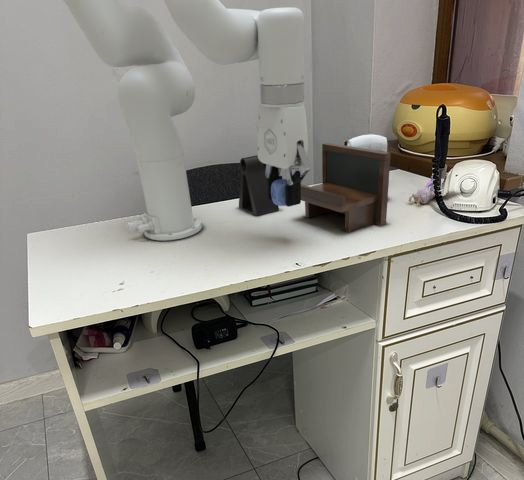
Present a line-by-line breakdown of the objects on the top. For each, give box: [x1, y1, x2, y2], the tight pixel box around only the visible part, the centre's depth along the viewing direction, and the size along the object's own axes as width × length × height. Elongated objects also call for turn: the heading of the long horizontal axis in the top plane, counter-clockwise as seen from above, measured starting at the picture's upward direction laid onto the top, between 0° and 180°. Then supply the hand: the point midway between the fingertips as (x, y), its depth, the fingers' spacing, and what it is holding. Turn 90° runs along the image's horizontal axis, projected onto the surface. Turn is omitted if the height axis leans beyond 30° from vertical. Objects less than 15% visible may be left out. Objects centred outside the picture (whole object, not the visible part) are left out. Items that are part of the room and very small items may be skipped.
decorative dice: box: [271, 178, 288, 207], centre depth 92 cm, size 4×4×4 cm
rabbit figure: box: [408, 174, 444, 207], centre depth 111 cm, size 6×6×15 cm
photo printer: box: [346, 133, 388, 152], centre depth 122 cm, size 10×4×12 cm, turn 98°
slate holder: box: [301, 142, 391, 233], centre depth 101 cm, size 11×18×14 cm, turn 34°
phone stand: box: [238, 154, 280, 217], centre depth 113 cm, size 9×6×12 cm, turn 30°
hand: (284, 200), depth 93 cm, fingers closed on decorative dice, 5 cm apart
